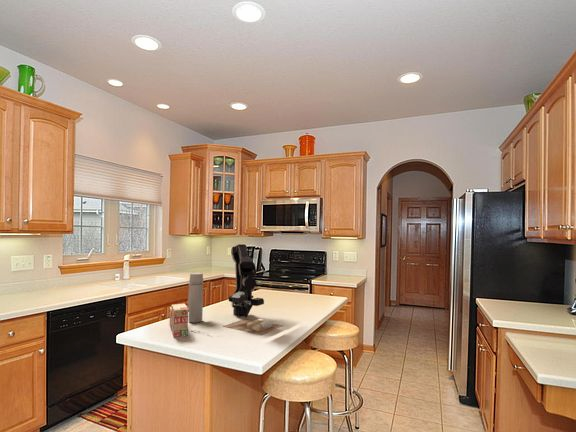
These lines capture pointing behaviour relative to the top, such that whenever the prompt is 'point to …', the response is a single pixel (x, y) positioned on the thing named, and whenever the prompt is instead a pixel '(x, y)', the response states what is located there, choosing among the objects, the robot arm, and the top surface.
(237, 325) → the bench board
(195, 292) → the water bottle
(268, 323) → the bench dog
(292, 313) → the top surface
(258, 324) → the birch plate
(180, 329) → the stack of blocks
